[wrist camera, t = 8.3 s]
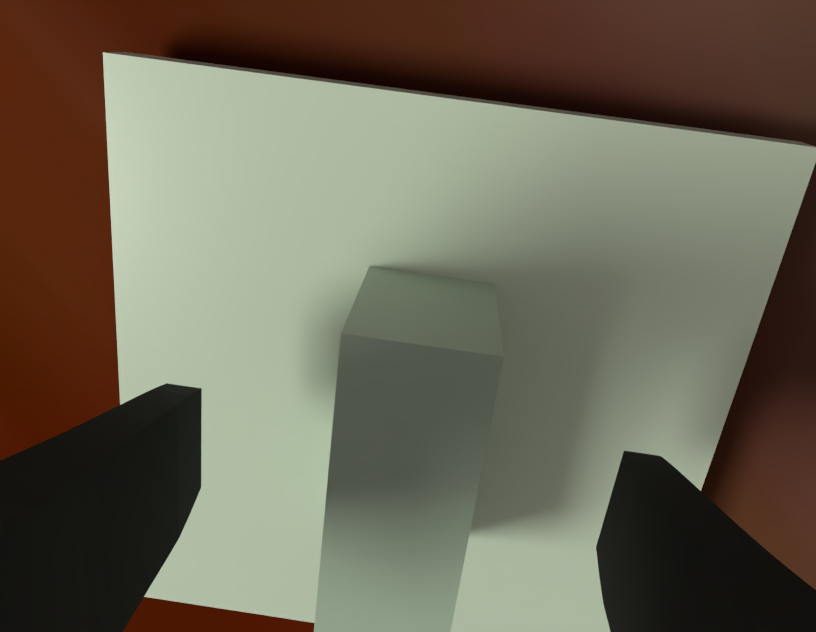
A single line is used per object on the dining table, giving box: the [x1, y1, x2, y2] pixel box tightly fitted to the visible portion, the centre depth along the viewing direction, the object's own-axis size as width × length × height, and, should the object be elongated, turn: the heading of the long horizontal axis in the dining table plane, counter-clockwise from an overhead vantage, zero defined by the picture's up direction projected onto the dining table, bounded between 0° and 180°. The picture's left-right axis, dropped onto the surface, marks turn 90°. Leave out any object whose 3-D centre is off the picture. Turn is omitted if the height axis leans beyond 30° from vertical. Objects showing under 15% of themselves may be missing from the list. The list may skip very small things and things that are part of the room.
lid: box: [103, 52, 816, 632], centre depth 13 cm, size 12×12×5 cm
